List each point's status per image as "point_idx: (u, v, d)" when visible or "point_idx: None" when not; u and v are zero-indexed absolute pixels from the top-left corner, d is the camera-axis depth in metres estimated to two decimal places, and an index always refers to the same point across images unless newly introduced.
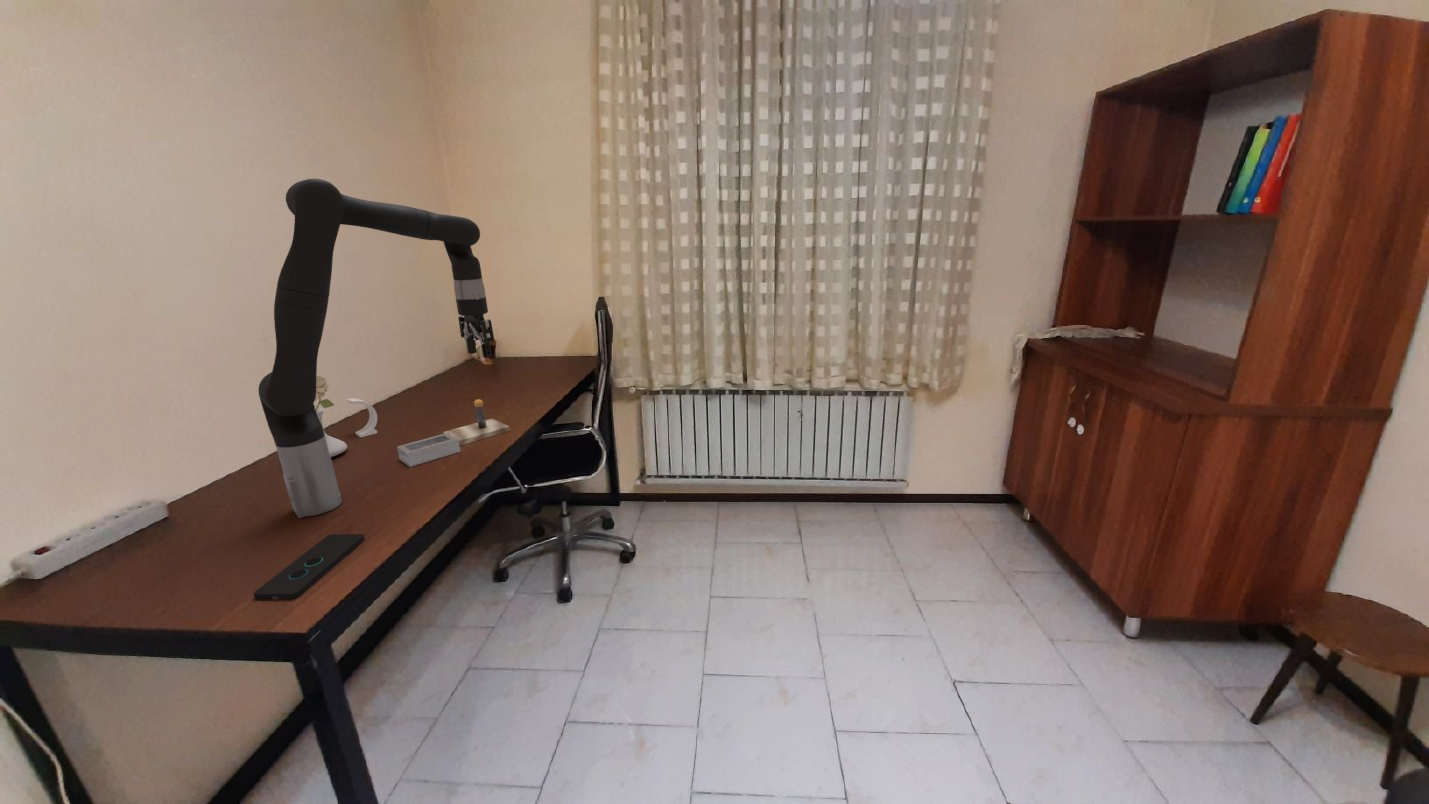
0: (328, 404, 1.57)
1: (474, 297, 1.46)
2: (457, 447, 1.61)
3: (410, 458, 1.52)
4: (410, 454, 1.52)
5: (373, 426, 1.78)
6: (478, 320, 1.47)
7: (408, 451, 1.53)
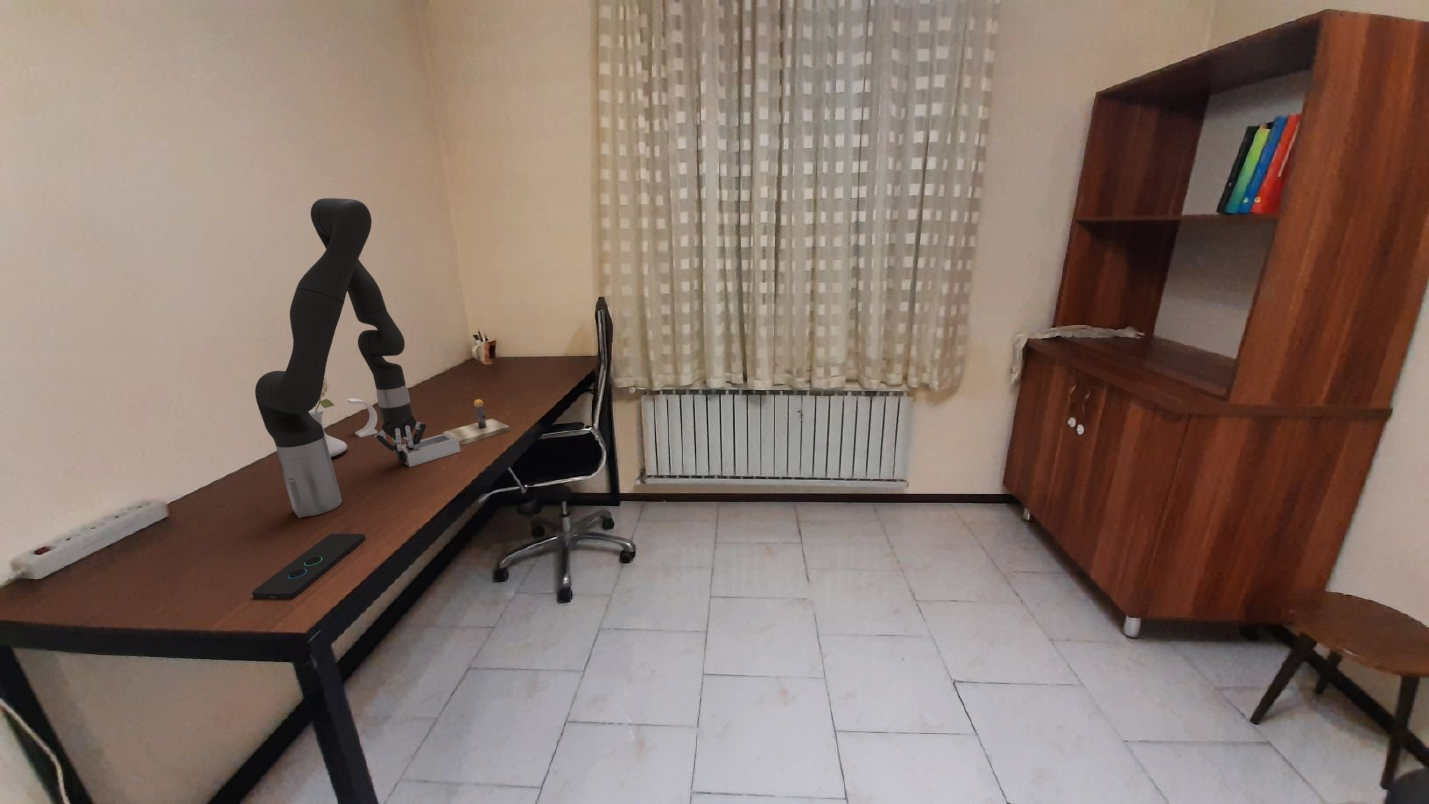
0: (328, 404, 1.57)
1: (409, 399, 1.52)
2: (457, 446, 1.61)
3: (410, 458, 1.52)
4: (410, 454, 1.52)
5: (373, 426, 1.78)
6: (416, 421, 1.55)
7: (408, 451, 1.53)
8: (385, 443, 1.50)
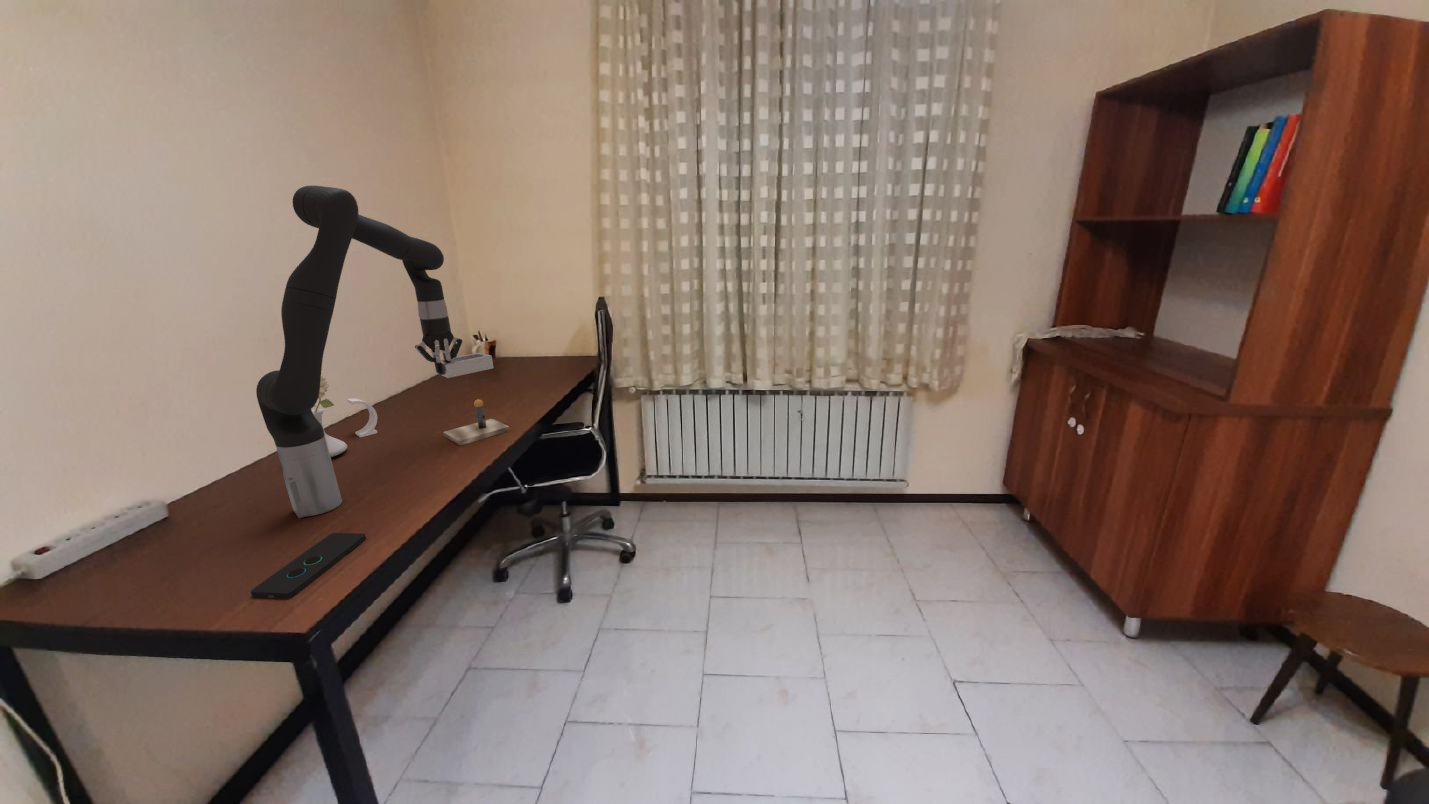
0: (328, 404, 1.57)
1: None
2: (491, 363, 1.71)
3: (448, 369, 1.62)
4: (448, 365, 1.62)
5: (373, 426, 1.78)
6: (453, 336, 1.64)
7: (446, 363, 1.63)
8: (425, 354, 1.59)
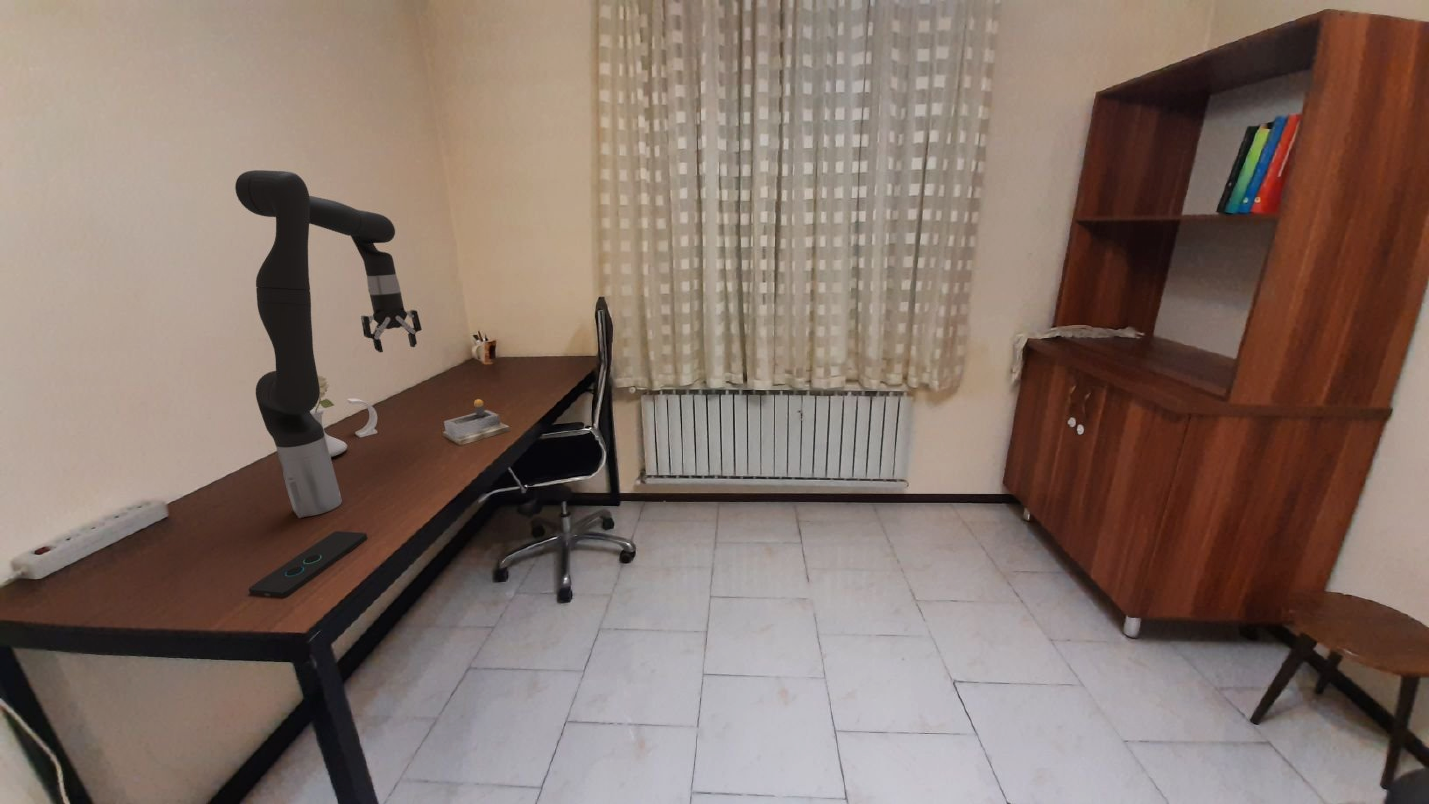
0: (328, 404, 1.57)
1: None
2: (498, 422, 1.77)
3: (457, 431, 1.68)
4: (457, 427, 1.67)
5: (373, 426, 1.78)
6: (405, 312, 1.56)
7: (455, 425, 1.68)
8: (367, 327, 1.50)
